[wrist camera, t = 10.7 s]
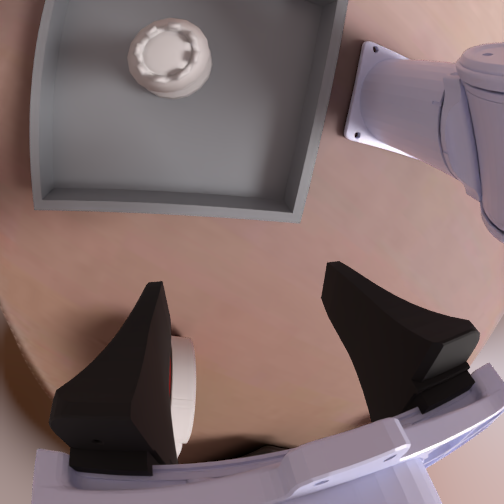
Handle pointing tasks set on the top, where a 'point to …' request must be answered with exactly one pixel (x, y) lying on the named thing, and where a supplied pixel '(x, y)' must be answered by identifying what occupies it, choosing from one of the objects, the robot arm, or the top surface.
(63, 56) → the box
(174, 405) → the sign
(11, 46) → the top surface
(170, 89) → the rook chess piece
